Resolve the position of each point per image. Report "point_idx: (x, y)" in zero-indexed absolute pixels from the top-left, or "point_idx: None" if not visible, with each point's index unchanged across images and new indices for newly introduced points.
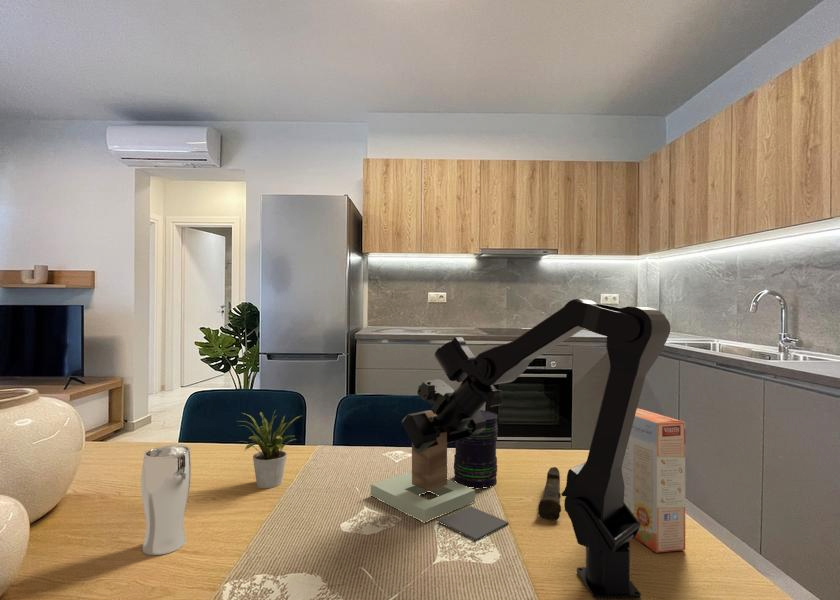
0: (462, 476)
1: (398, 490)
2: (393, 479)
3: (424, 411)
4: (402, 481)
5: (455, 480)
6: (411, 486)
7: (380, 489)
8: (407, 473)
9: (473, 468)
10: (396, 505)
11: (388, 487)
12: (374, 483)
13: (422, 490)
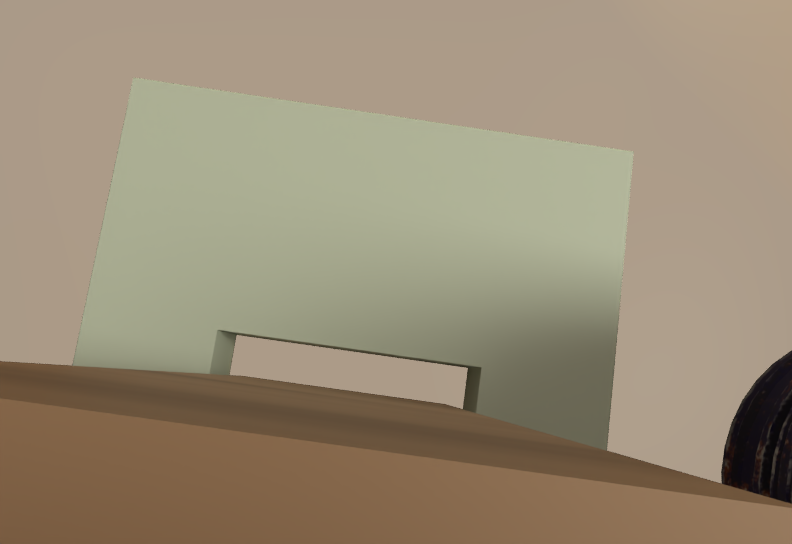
0: (769, 488)
1: (167, 312)
2: (314, 140)
3: (389, 513)
4: (327, 218)
5: (751, 401)
6: (294, 335)
7: (110, 191)
8: (481, 140)
9: None
10: None
11: (167, 216)
12: (160, 88)
13: (403, 357)
